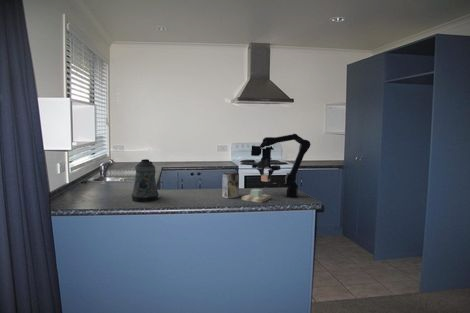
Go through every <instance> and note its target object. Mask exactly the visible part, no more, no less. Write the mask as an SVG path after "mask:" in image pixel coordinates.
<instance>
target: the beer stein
mask: <svg viewBox="0 0 470 313" xmlns="http://www.w3.org/2000/svg"><path fill="white" fill-rule="evenodd" d="M134 169H135V177H134V184H133V188H132V191H131V199H132V201H133V202H137V203H149V202H155V201H157V200H158V199H159V198H158V197H159V191H158V188H157V183H156V166H155V165H154V164H153V162H152V161H150V159H147V158H146V159H143V158H142V159H141V161H140V162H138V163H137V164H136V165H135V166H134Z"/></svg>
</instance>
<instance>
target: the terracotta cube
mask: <svg viewBox="0 0 470 313" xmlns="http://www.w3.org/2000/svg"><path fill="white" fill-rule="evenodd" d="M260 181H261V182H266V183H269V182H271V179H270V180H268V174H266V173H264V175H260Z"/></svg>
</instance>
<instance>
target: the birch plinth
mask: <svg viewBox="0 0 470 313" xmlns="http://www.w3.org/2000/svg"><path fill="white" fill-rule="evenodd" d="M271 196H272V194H271V195H270V194H263V193H262V196H260V197H252V196H251V192H249V193H247V194H245V195H243V196H241V198H240V199H241V201H248V202H252V203H253V202H254V203H260V204H262V203H263V202H266V201H268V200H270V199H272V197H271Z"/></svg>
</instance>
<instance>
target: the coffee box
mask: <svg viewBox="0 0 470 313" xmlns="http://www.w3.org/2000/svg"><path fill="white" fill-rule="evenodd" d="M221 175H222V190H221V191H222V198H225V199H232V198H238V197H240V195H239V194H240V193H239V191H240V189H239V188H240V186H239V184H240V182H239V181H240V180H239V179H240V177H239V176H240V174H239V172H235V171H229V172H222V173H221Z"/></svg>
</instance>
